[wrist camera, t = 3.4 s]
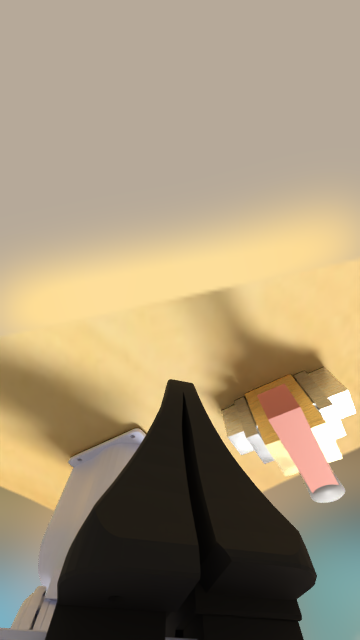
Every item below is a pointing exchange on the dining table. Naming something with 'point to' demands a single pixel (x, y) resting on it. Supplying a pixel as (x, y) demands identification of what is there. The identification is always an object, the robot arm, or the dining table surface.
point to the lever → (301, 444)
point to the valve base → (317, 405)
